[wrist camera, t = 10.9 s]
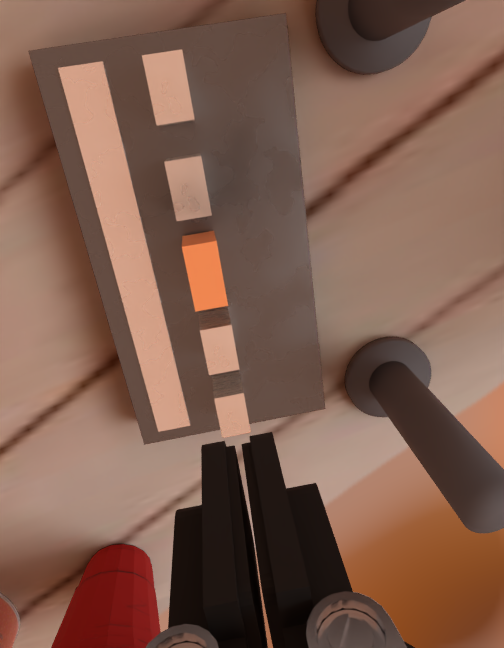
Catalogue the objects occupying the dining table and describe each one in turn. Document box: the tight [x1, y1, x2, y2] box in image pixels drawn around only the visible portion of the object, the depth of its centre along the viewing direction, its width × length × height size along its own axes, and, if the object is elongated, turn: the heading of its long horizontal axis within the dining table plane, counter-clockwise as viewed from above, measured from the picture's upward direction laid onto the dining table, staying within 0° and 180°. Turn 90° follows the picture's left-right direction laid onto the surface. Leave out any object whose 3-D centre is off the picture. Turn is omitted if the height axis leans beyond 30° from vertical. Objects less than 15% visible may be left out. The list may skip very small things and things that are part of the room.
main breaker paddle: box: [182, 231, 228, 312], centre depth 28 cm, size 2×4×3 cm, turn 9°
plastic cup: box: [51, 544, 160, 648], centre depth 38 cm, size 11×11×12 cm
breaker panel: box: [29, 13, 325, 444], centre depth 30 cm, size 14×26×6 cm, turn 9°
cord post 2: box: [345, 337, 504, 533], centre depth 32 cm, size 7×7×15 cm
